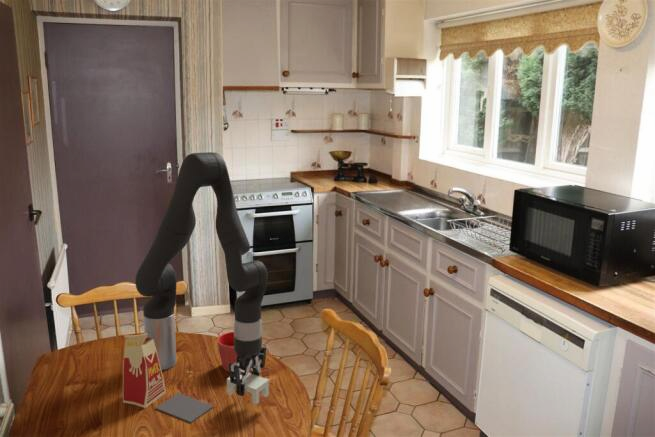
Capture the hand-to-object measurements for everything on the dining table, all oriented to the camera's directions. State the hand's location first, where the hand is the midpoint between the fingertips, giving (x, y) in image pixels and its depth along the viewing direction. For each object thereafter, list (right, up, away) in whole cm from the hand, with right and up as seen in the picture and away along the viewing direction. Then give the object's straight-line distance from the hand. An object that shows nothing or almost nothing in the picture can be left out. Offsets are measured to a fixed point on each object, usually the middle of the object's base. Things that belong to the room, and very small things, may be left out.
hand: (248, 389), depth 159 cm
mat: (-17, -5, 0) cm, 18 cm away
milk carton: (-31, -4, +5) cm, 31 cm away
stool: (-4, +2, +2) cm, 5 cm away
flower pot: (-7, 0, +23) cm, 24 cm away
